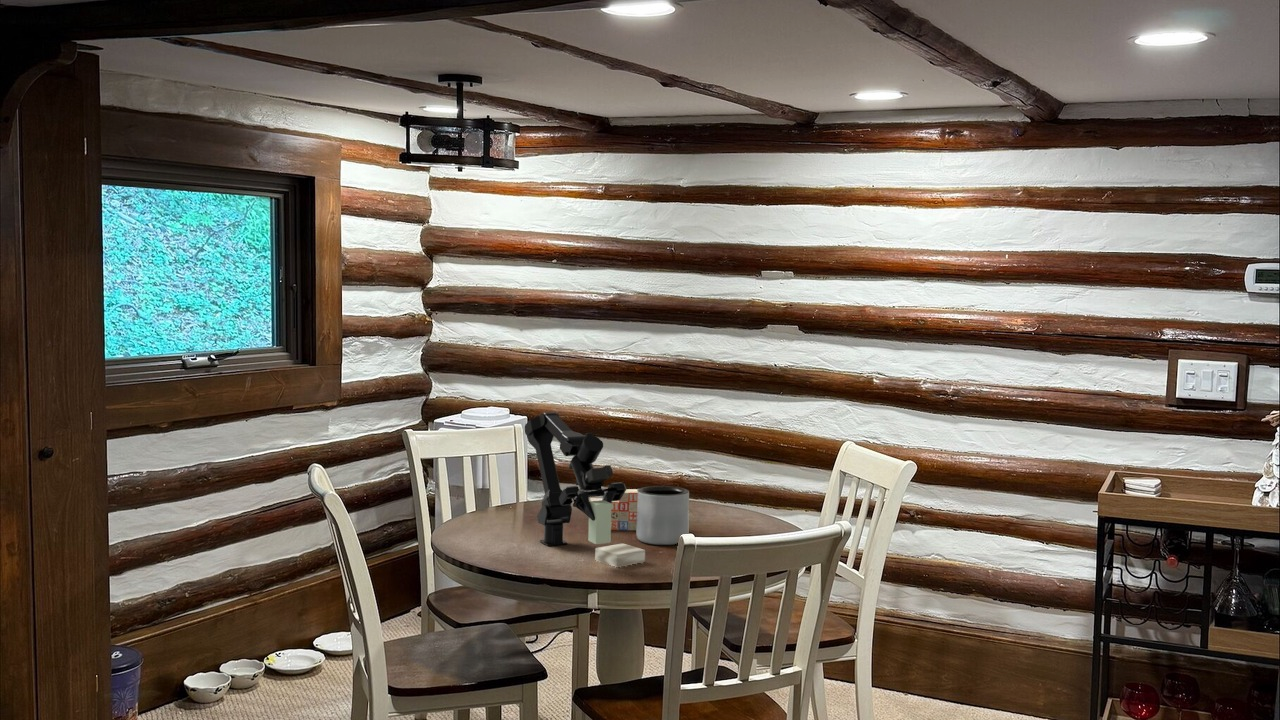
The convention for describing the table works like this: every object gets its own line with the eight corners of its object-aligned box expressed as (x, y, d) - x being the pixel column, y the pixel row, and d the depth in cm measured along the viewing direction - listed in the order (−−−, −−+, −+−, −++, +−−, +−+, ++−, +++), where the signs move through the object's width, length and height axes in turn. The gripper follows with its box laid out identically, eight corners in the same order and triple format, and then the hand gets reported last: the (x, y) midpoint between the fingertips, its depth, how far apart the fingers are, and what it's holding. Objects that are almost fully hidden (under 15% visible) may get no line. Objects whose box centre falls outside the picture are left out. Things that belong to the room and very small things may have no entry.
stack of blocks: (589, 530, 355) (590, 492, 354) (589, 526, 361) (590, 488, 360) (656, 530, 356) (657, 492, 355) (655, 526, 362) (656, 489, 361)
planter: (682, 534, 351) (683, 485, 350) (693, 545, 336) (694, 494, 335) (632, 535, 349) (633, 485, 348) (641, 547, 333) (642, 495, 332)
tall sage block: (588, 540, 310) (589, 501, 309) (603, 539, 312) (603, 500, 311) (595, 544, 306) (596, 504, 305) (610, 542, 308) (611, 503, 307)
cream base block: (595, 562, 316) (595, 548, 315) (622, 556, 322) (622, 543, 322) (617, 569, 308) (617, 555, 308) (644, 563, 314) (645, 549, 314)
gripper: (564, 458, 306) (581, 505, 297) (623, 454, 315) (642, 499, 307) (551, 481, 314) (568, 528, 305) (610, 477, 323) (628, 522, 314)
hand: (602, 519), depth 307 cm, fingers closed on tall sage block, 5 cm apart
